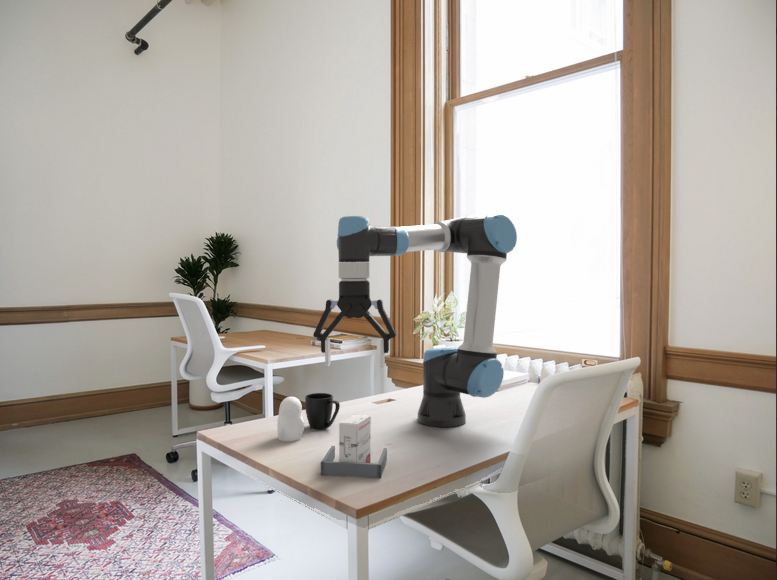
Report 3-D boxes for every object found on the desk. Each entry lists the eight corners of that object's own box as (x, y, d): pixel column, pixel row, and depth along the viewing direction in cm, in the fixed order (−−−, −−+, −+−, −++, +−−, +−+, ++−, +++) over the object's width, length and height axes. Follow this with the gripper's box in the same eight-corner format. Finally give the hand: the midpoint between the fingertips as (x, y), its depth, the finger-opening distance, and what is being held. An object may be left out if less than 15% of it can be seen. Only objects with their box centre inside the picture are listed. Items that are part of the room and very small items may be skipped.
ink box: (353, 460, 137) (353, 413, 137) (371, 462, 135) (371, 415, 135) (338, 472, 129) (338, 422, 128) (357, 474, 127) (357, 424, 127)
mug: (327, 435, 157) (327, 402, 157) (299, 427, 165) (299, 396, 165) (347, 429, 164) (347, 397, 163) (319, 421, 171) (319, 391, 171)
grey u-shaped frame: (386, 459, 137) (386, 448, 137) (380, 477, 125) (380, 464, 125) (331, 457, 139) (331, 445, 139) (320, 475, 127) (320, 462, 127)
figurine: (281, 444, 149) (281, 400, 149) (273, 436, 156) (273, 394, 156) (306, 440, 153) (306, 397, 152) (297, 433, 159) (297, 392, 159)
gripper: (405, 279, 137) (406, 363, 138) (307, 279, 139) (308, 362, 140) (404, 280, 130) (404, 369, 131) (300, 280, 132) (301, 368, 133)
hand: (355, 366), depth 135 cm, fingers open, 13 cm apart
